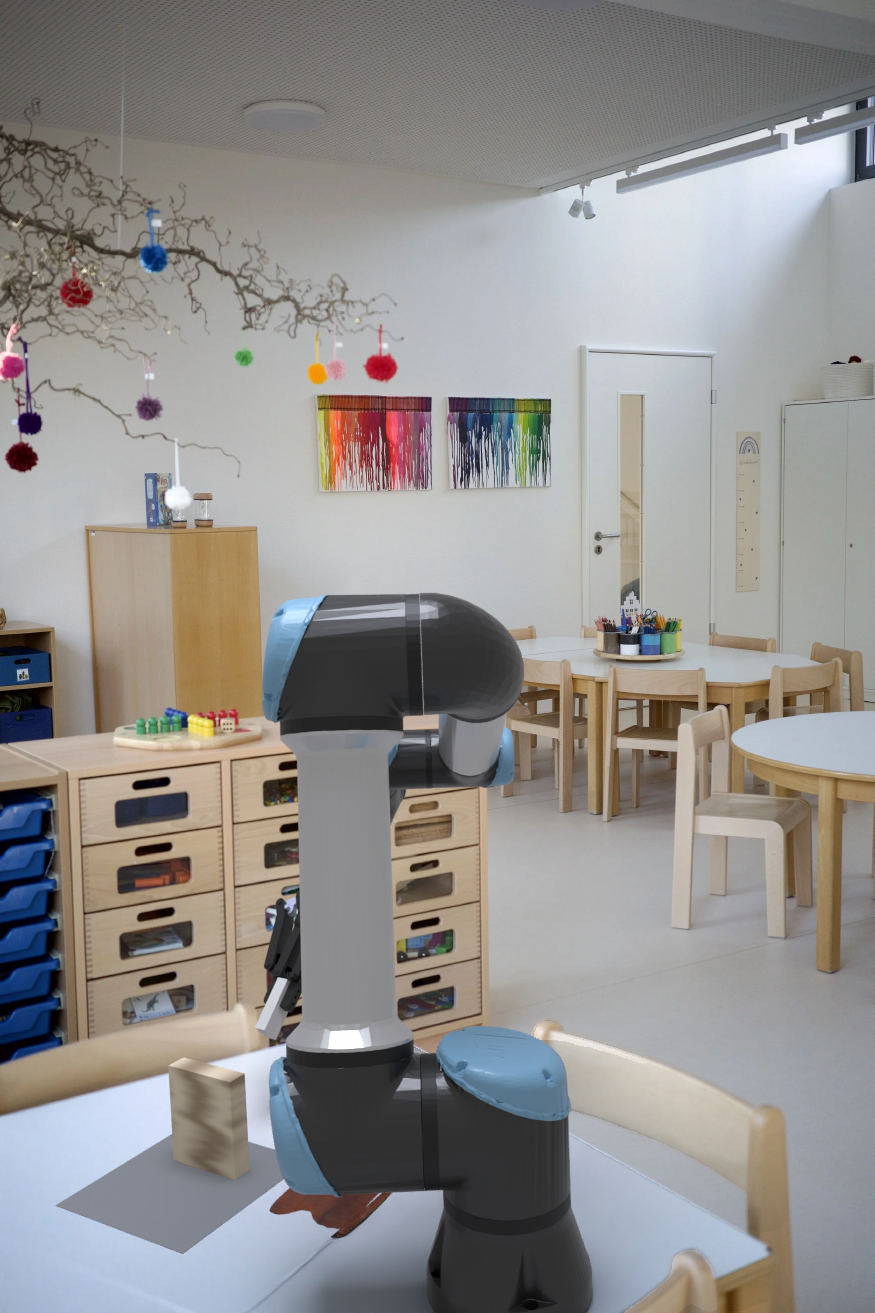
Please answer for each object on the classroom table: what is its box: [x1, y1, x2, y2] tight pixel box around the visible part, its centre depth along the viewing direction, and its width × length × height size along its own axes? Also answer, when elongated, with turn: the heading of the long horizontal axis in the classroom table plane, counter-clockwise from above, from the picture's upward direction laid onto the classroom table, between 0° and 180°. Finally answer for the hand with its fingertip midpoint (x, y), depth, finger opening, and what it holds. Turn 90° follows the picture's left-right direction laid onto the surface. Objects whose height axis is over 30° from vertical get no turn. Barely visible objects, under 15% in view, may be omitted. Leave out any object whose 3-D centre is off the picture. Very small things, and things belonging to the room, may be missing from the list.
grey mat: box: [55, 1133, 284, 1255], centre depth 129 cm, size 18×20×1 cm
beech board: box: [167, 1056, 250, 1180], centre depth 132 cm, size 9×2×11 cm, turn 59°
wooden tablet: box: [269, 1187, 391, 1239], centre depth 132 cm, size 27×10×2 cm, turn 153°
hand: (265, 1033), depth 141 cm, fingers closed
